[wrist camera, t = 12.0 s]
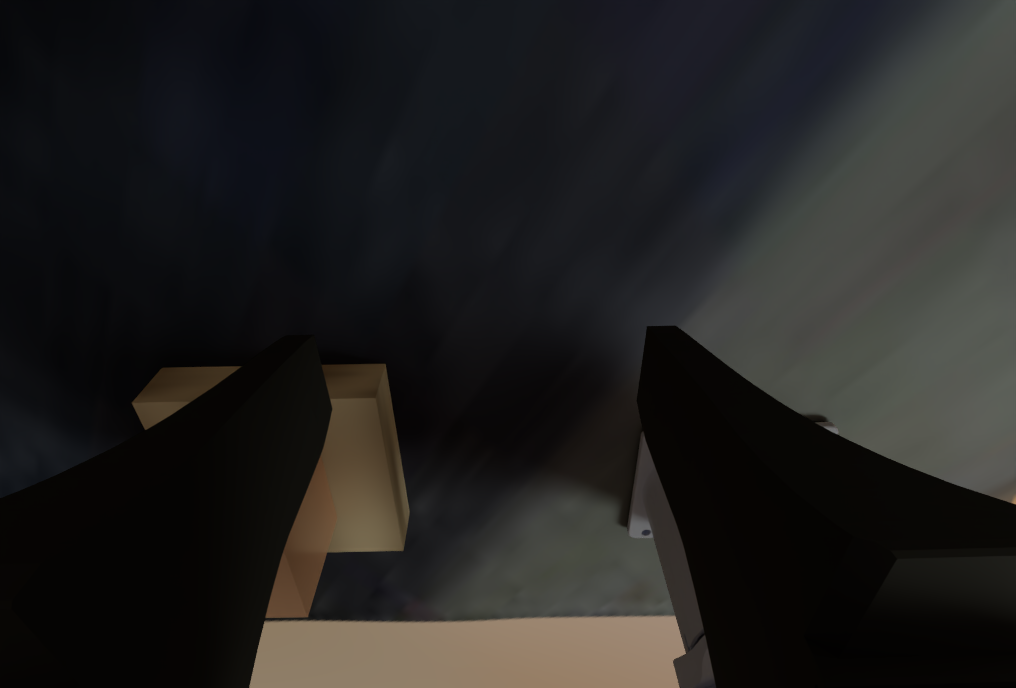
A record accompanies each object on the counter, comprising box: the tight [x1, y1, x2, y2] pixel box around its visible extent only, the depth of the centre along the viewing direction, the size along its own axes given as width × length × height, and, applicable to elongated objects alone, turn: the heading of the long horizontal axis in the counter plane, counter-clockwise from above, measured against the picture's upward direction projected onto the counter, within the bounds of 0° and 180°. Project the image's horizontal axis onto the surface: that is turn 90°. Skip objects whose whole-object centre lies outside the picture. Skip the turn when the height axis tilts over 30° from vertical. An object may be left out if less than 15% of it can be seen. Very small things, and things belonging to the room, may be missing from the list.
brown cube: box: [265, 456, 337, 618], centre depth 23 cm, size 5×5×5 cm
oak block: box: [132, 364, 410, 552], centre depth 27 cm, size 10×10×3 cm
